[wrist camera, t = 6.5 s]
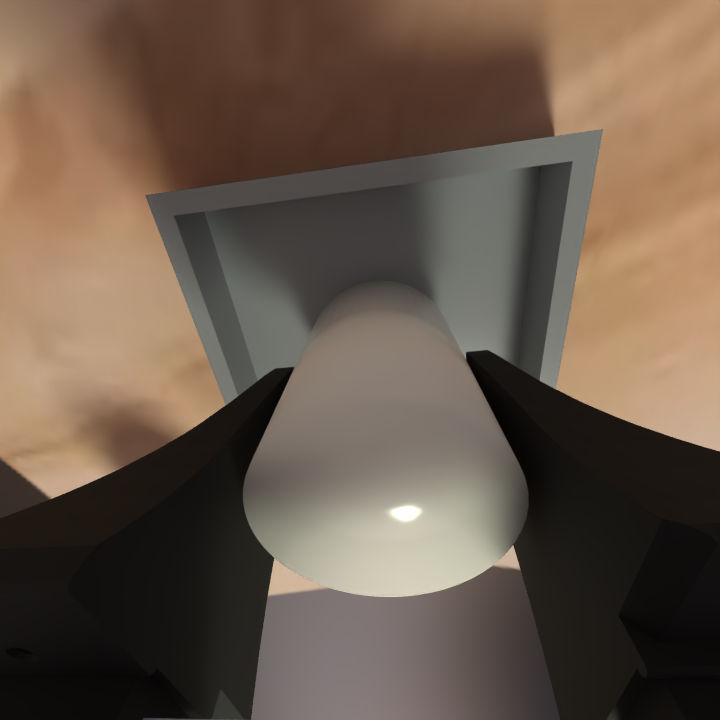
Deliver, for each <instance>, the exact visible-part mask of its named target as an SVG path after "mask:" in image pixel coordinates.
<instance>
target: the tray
mask: <svg viewBox="0 0 720 720" xmlns="http://www.w3.org/2000/svg"><path fill="white" fill-rule="evenodd" d="M602 132H603V129H601V130H594V131H587V132H580V133H573V134H566V135H560V136H553V137H546V138H539V139H532V140H525V141H518V142H511V143H504V144H497V145H490V146H483V147H476V148H470V149H463V150H456V151H449V152H442V153H435V154H428V155H421V156H414V157H407V158H400V159H393V160H386V161H380V162H373V163H366V164H359V165H352V166H345V167H338V168H331V169H324V170H317V171H310V172H303V173H296V174H290V175H283V176H276V177H269V178H262V179H255V180H248V181H241V182H234V183H227V184H220V185H213V186H206V187H199V188H193V189H186V190H179V191H172V192H165V193H158V194H151V195H145V196H146V198H147V201H148V203H149V206H150V209H151V211H152V214H153V217H154V219H155V222H156V224H157V227H158V230H159V232H160V235H161V237H162V240H163V243H164V245H165V248H166V250H167V253H168V256H169V258H170V261H171V263H172V266H173V269H174V271H175V274H176V276H177V279H178V282H179V284H180V287H181V289H182V292H183V295H184V297H185V300H186V302H187V305H188V308H189V310H190V313H191V315H192V318H193V321H194V323H195V326H196V328H197V331H198V334H199V336H200V339H201V342H202V344H203V347H204V349H205V352H206V355H207V357H208V360H209V362H210V365H211V368H212V370H213V373H214V375H215V378H216V381H217V383H218V386H219V388H220V391H221V394H222V396H223V399H224V401H225V404H226V405H227V404H228V403H230V402H231V401H232V400H234V399H235V398H236V397H238V396H239V395H240V394H241V393H243V392H244V391H245V390H247V389H248V388H249V387H250V386H252V385H253V384H254V383H256V382H257V381H258V380H259V379H261V378H262V377H263V376H265V375H266V374H267V373H269V372H270V371H272V370H274V369H275V368H286V367H294V368H295V366H296V364H297V361H298V359H299V357H300V355H301V353H302V351H303V348H304V346H305V344H306V342H307V340H308V338H309V335H310V333H311V331H312V329H313V327H314V325H315V322H316V320H317V318H318V316H319V315H320V313H321V311H322V310H323V309H324V307H325V306H326V305H327V303H329V302H330V301H331V300H332V299H333V298H334V297H335V296H336V295H338V294H339V293H341V292H342V291H344V290H346V289H348V288H350V287H352V286H355V285H357V284H360V283H364V282H369V281H393V282H399V283H402V284H405V285H408V286H411V287H413V288H415V289H417V290H419V291H420V292H422V293H423V294H425V295H426V296H427V297H428V298H430V299H431V300H432V301H433V302H434V303H435V304H436V306H437V307H438V308H439V310H440V311H441V313H442V314H443V316H444V318H445V320H446V322H447V324H448V326H449V328H450V330H451V332H452V333H453V335H454V337H455V339H456V341H457V343H458V345H459V347H460V349H461V351H462V353H463V355H464V357H465V359H466V352H470V351H482V350H489V351H491V352H493V353H494V354H496V355H498V356H499V357H501V358H503V359H504V360H506V361H508V362H509V363H511V364H513V365H514V366H516V367H517V368H519V369H521V370H522V371H524V372H526V373H527V374H529V375H531V376H533V377H534V378H536V379H538V380H540V381H541V382H543V383H545V384H547V385H549V386H550V387H552V388H554V389H556V385H557V380H558V374H559V369H560V363H561V358H562V352H563V347H564V341H565V336H566V330H567V325H568V319H569V314H570V308H571V303H572V297H573V292H574V286H575V281H576V275H577V269H578V264H579V258H580V253H581V247H582V242H583V236H584V231H585V225H586V220H587V214H588V209H589V203H590V198H591V192H592V187H593V181H594V176H595V170H596V165H597V159H598V154H599V148H600V143H601V137H602Z"/></svg>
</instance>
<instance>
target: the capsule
mask: <svg viewBox="0 0 720 720" xmlns="http://www.w3.org/2000/svg"><path fill="white" fill-rule="evenodd" d="M243 504H244V509H245V514H246V517H247V520H248V522H249V525H250V527H251V529H252V531H253V533H254V534H255V536H256V538H257V539H258V540H259V542H260V543H261V544H262V546H263V547H264V548H265V549H266V550H267V551H268V552H269V553H270V554H271V555H272V556H273V557H274V558H275V559H276V560H278V561H279V562H280V563H281V564H283V565H284V566H285V567H287V568H288V569H290V570H292V571H293V572H295V573H296V574H298V575H300V576H302V577H304V578H306V579H308V580H310V581H312V582H315V583H317V584H320V585H322V586H325V587H329V588H332V589H335V590H339V591H343V592H348V593H352V594H359V595H366V596H378V597H400V596H412V595H420V594H426V593H431V592H435V591H439V590H443V589H446V588H449V587H452V586H455V585H458V584H460V583H462V582H465V581H467V580H469V579H471V578H473V577H475V576H477V575H478V574H480V573H482V572H484V571H485V570H487V569H488V568H489V567H491V566H492V565H494V564H495V563H496V562H497V561H498V560H500V559H501V558H502V557H503V556H504V555H505V554H506V553H507V552H508V550H509V549H510V548H511V547H512V545H513V544H514V543H515V542H516V540H517V538H518V536H519V535H520V533H521V531H522V529H523V526H524V523H525V521H526V518H527V512H528V506H529V499H528V488H527V483H526V479H525V476H524V474H523V471H522V469H521V467H520V465H519V463H518V461H517V459H516V457H515V455H514V453H513V451H512V449H511V447H510V445H509V443H508V441H507V439H506V437H505V435H504V433H503V431H502V429H501V427H500V425H499V423H498V421H497V420H496V418H495V416H494V414H493V412H492V410H491V408H490V406H489V404H488V402H487V400H486V398H485V396H484V394H483V392H482V390H481V388H480V386H479V384H478V382H477V380H476V378H475V377H474V375H473V373H472V371H471V369H470V367H469V365H468V363H467V361H466V359H465V357H464V355H463V353H462V351H461V349H460V347H459V345H458V343H457V341H456V339H455V337H454V335H453V333H452V332H451V330H450V328H449V326H448V324H447V322H446V320H445V318H444V316H443V314H442V313H441V311H440V310H439V308H438V307H437V306H436V304H435V303H434V302H433V301H432V300H431V299H430V298H428V297H427V296H426V295H425V294H423V293H422V292H420V291H419V290H417V289H415V288H413V287H411V286H408V285H405V284H402V283H399V282H393V281H369V282H364V283H360V284H357V285H355V286H352V287H350V288H348V289H346V290H344V291H342V292H341V293H339V294H338V295H336V296H335V297H334V298H333V299H332V300H331V301H330V302H329V303H327V305H326V306H325V307H324V309H323V310H322V311H321V313H320V315H319V316H318V318H317V320H316V322H315V325H314V327H313V329H312V331H311V333H310V335H309V338H308V340H307V342H306V344H305V346H304V348H303V351H302V353H301V355H300V357H299V359H298V361H297V364H296V366H295V368H294V370H293V372H292V374H291V376H290V379H289V381H288V383H287V385H286V387H285V389H284V392H283V394H282V396H281V398H280V400H279V402H278V405H277V407H276V409H275V411H274V413H273V415H272V418H271V420H270V422H269V424H268V426H267V428H266V431H265V433H264V435H263V437H262V439H261V441H260V444H259V446H258V448H257V450H256V452H255V454H254V457H253V459H252V461H251V463H250V466H249V468H248V471H247V473H246V476H245V481H244V486H243Z"/></svg>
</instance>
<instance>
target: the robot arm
mask: <svg viewBox="0 0 720 720" xmlns="http://www.w3.org/2000/svg"><path fill="white" fill-rule="evenodd" d="M466 361H467V363H468V365H469V367H470V369H471V371H472V373H473V375H474V377H475V378H476V380H477V382H478V384H479V386H480V388H481V390H482V392H483V394H484V396H485V398H486V400H487V402H488V404H489V406H490V408H491V410H492V412H493V414H494V416H495V418H496V420H497V421H498V423H499V425H500V427H501V429H502V431H503V433H504V435H505V437H506V439H507V441H508V443H509V445H510V447H511V449H512V451H513V453H514V455H515V457H516V459H517V461H518V463H519V465H520V467H521V469H522V471H523V474H524V476H525V479H526V483H527V488H528V499H529V506H528V512H527V518H526V521H525V523H524V526H523V529H522V531H521V533H520V535H519V536H518V538H517V540H516V542H515V543H514V544H513V545H514V549H515V552H516V555H517V559H518V562H519V566H520V569H521V572H522V576H523V579H524V583H525V586H526V590H527V593H528V597H529V600H530V604H531V608H532V611H533V615H534V619H535V622H536V626H537V629H538V634H539V638H540V641H541V645H542V649H543V652H544V656H545V660H546V664H547V668H548V672H549V676H550V680H551V684H552V688H553V692H554V696H555V700H556V704H557V708H558V712H559V716H560V720H720V452H719V451H716V450H712V449H709V448H705V447H702V446H698V445H695V444H692V443H689V442H686V441H682V440H679V439H676V438H673V437H670V436H667V435H664V434H661V433H658V432H655V431H653V430H650V429H647V428H644V427H641V426H638V425H635V424H633V423H630V422H627V421H625V420H622V419H620V418H617V417H615V416H612V415H610V414H608V413H605V412H603V411H601V410H598V409H596V408H593V407H591V406H589V405H587V404H584V403H582V402H580V401H578V400H576V399H574V398H572V397H570V396H568V395H566V394H564V393H562V392H560V391H558V390H556V389H554V388H552V387H550V386H549V385H547V384H545V383H543V382H541V381H540V380H538V379H536V378H534V377H533V376H531V375H529V374H527V373H526V372H524V371H522V370H521V369H519V368H517V367H516V366H514V365H513V364H511V363H509V362H508V361H506V360H504V359H503V358H501V357H499V356H498V355H496V354H494V353H493V352H491V351H489V350H482V351H470V352H466ZM293 370H294V367H286V368H275V369H274V370H272V371H270V372H269V373H267V374H266V375H265V376H263V377H262V378H261V379H259V380H258V381H257V382H256V383H254V384H253V385H252V386H250V387H249V388H248V389H247V390H245V391H244V392H243V393H241V394H240V395H239V396H238V397H236V398H235V399H234V400H232V401H231V402H230V403H228V404H227V405H226V406H224V407H223V408H221V409H220V410H219V411H217V412H216V413H214V414H213V415H212V416H210V417H209V418H207V419H206V420H205V421H203V422H202V423H200V424H199V425H197V426H196V427H194V428H193V429H191V430H190V431H188V432H186V433H185V434H183V435H182V436H180V437H178V438H177V439H175V440H173V441H172V442H170V443H168V444H166V445H165V446H163V447H161V448H159V449H158V450H156V451H154V452H152V453H150V454H148V455H146V456H144V457H142V458H140V459H138V460H136V461H134V462H132V463H131V464H129V465H127V466H125V467H123V468H121V469H119V470H117V471H115V472H113V473H110V474H108V475H106V476H104V477H102V478H99V479H97V480H95V481H93V482H91V483H88V484H86V485H84V486H81V487H79V488H77V489H74V490H72V491H70V492H67V493H65V494H63V495H60V496H58V497H55V498H53V499H50V500H48V501H45V502H42V503H40V504H37V505H35V506H32V507H29V508H27V509H24V510H21V511H19V512H16V513H13V514H11V515H8V516H5V517H3V518H0V720H251V714H252V705H253V697H254V688H255V681H256V673H257V665H258V657H259V650H260V643H261V636H262V629H263V622H264V616H265V609H266V602H267V596H268V590H269V585H270V579H271V573H272V567H273V561H274V557H273V556H272V555H271V554H270V553H269V552H268V551H267V550H266V549H265V548H264V547H263V546H262V544H261V543H260V542H259V540H258V539H257V538H256V536H255V534H254V533H253V531H252V529H251V527H250V525H249V522H248V520H247V517H246V514H245V509H244V504H243V486H244V481H245V476H246V473H247V471H248V468H249V466H250V463H251V461H252V459H253V457H254V454H255V452H256V450H257V448H258V446H259V444H260V441H261V439H262V437H263V435H264V433H265V431H266V428H267V426H268V424H269V422H270V420H271V418H272V415H273V413H274V411H275V409H276V407H277V405H278V402H279V400H280V398H281V396H282V394H283V392H284V389H285V387H286V385H287V383H288V381H289V379H290V376H291V374H292V372H293Z"/></svg>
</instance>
